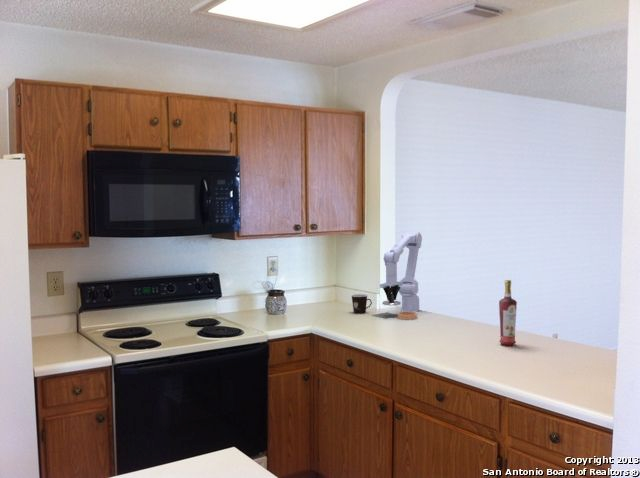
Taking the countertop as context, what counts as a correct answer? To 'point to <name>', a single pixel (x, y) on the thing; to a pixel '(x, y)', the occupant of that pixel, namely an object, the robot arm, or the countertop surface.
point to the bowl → (407, 315)
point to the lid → (391, 301)
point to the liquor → (507, 317)
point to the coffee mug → (360, 303)
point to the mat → (385, 315)
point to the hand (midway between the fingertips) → (391, 300)
